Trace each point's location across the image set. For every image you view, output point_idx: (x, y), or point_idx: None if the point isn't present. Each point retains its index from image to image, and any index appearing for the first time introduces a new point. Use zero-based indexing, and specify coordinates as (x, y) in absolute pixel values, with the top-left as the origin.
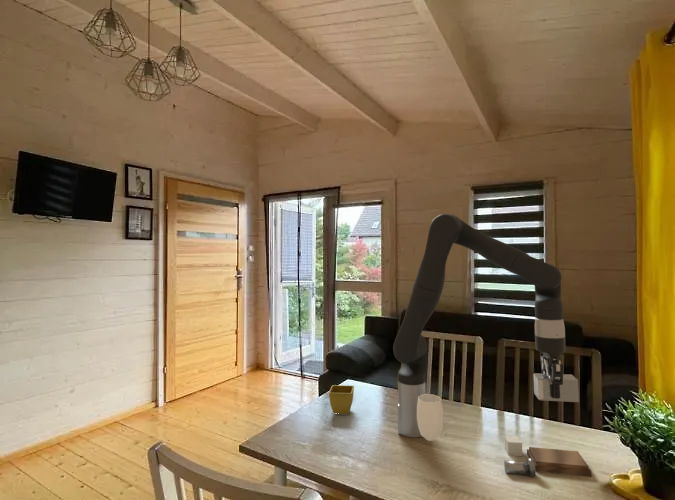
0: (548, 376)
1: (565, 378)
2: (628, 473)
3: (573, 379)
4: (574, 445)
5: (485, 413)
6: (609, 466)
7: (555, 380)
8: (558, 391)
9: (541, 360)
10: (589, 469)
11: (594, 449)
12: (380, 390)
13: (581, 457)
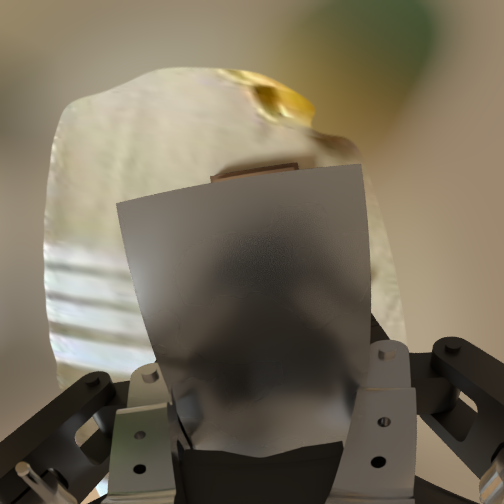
0: (279, 437)
1: (323, 308)
2: (246, 82)
3: (344, 216)
4: (141, 179)
5: (74, 358)
6: (225, 114)
7: (457, 401)
8: (382, 330)
9: (81, 499)
10: (289, 165)
11: (147, 135)
12: (102, 482)
13: (248, 175)
